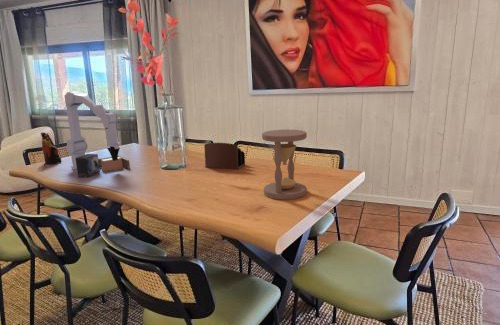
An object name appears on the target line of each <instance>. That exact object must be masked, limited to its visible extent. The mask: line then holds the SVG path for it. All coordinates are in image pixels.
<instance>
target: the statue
mask: <svg viewBox="0 0 500 325" xmlns="http://www.w3.org/2000/svg"><path fill="white" fill-rule="evenodd" d="M40 136H41V137H42V138H41V146H42V153H43V157H44V158H43V159H44V163H45V164H47V165H55V164H60V163H62V158H61V157H60V155H59V149H58V147H57V146H56V145H55V144H54V141H53V140H52V138H51V137H50V135H49V133H48V132H43V131H42V132H40Z"/></svg>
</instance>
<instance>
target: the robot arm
mask: <svg viewBox="0 0 500 325" xmlns="http://www.w3.org/2000/svg"><path fill="white" fill-rule="evenodd" d="M64 102H65V107H66V113H67V119H68V120H67V121H68V127H69V132H70V137H68V138H67V140H66V150H67V152H68V153H69V154H70V155H71V158H70V159H71V163H72V165H71V166H70V167H71V168H72V169H73V170H75V171H77V166H76V159H75V158H76V157H80V156H83V155H86V152H87V149H88V143H87V141H86V137H84V136H82V131H81V126H80V124H81V123H80V118H79V111H78V109H79V107H80V106H82V105H85V106H86V107H88V108H89V109H91V110H92V112H93V114H94V116H96V117H98V118H99V119H100V122H101V123H102V126H103V128H104V132H105V138H106V139H105V140H106V146H107V148H106V149H107V151H108V152H109V154H110V157H112V159H113V161H115V160H118V156H119V152H120V149H121V148H120V145H121V142H119V137H118V131H117V122H118V120H119V119H118V115H117V114H116V113H115V112H114V111H110V110H108V109H106V108H105V106H104V105H103V104H97V103H96V102H95V101H93V100H92V99H91V97H89V94H88V93H87V92H85V91H83V90H82V91H81V90H80V91H67V92H66V93H65V95H64Z"/></svg>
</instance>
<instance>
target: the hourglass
mask: <svg viewBox="0 0 500 325" xmlns="http://www.w3.org/2000/svg"><path fill="white" fill-rule="evenodd" d="M307 137H308V135H307V132H306V131H305V130H301V129H300V130H299V129H274V130H273V129H272V130H268V131H264V132H262V134H261V138H262V140H263V141H265V142H272V143H274V144H273V145H272V148H273V150H274V156H273V161H274V164H275V170H274V181H273V182H270V183H269V184H266V185H265V186H263V187H264V188H263V193H264V195H265V196H266V197H267V198H269V199H275V200H281V201H283V200H285V201H286V200H287V201H288V200H295V199H300V198H302V197H305V196H306V194H307V192H308V189H307V185H305V184H304V183H300V182H297V181H296V180H295V163H294V160H293V159H294V155H295V150H296V147H297V145H296V144H294V142H298V141H303V140H306V139H307ZM281 165H282V166H286V167H287V174H288V177H286V176H283V172H282V169H281Z"/></svg>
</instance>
